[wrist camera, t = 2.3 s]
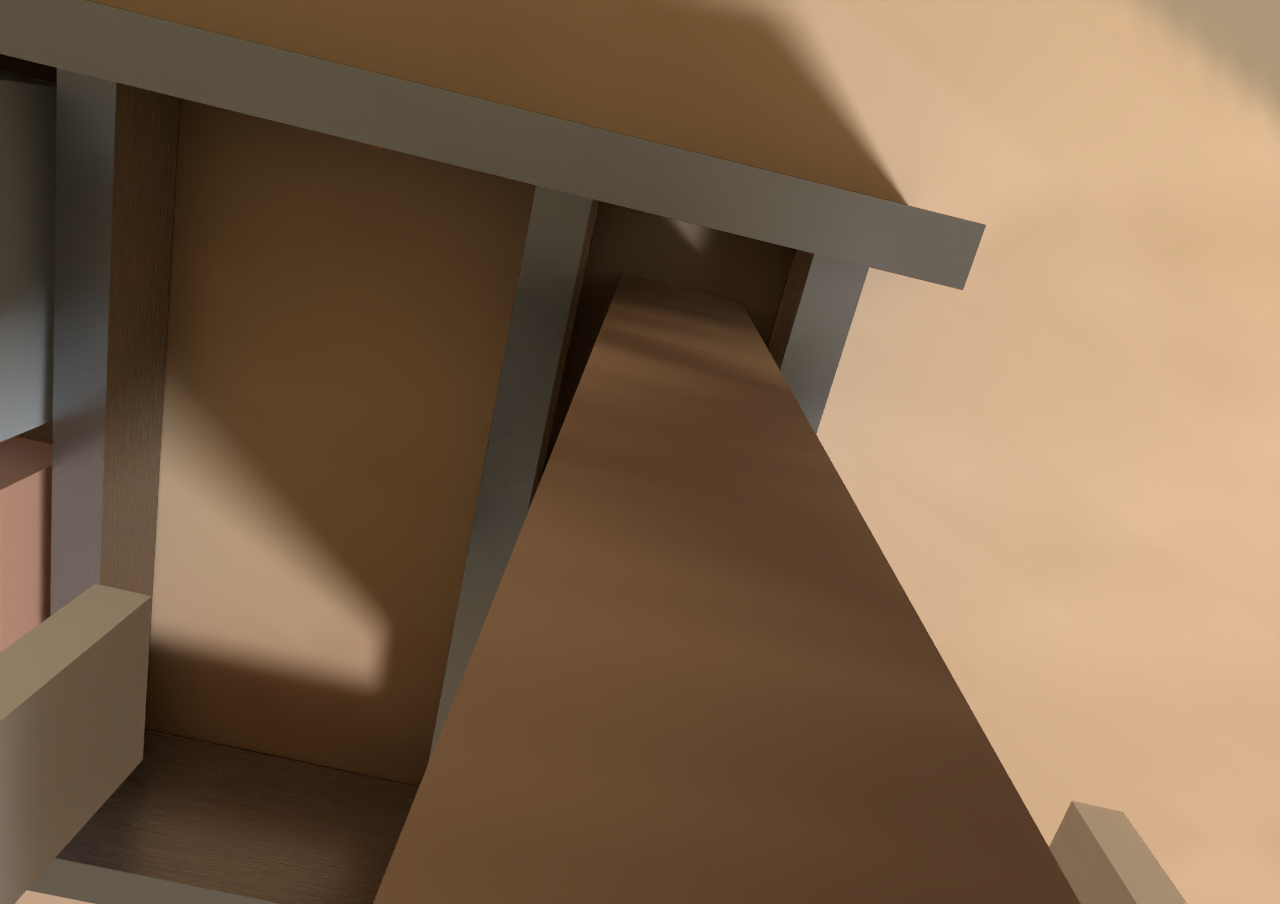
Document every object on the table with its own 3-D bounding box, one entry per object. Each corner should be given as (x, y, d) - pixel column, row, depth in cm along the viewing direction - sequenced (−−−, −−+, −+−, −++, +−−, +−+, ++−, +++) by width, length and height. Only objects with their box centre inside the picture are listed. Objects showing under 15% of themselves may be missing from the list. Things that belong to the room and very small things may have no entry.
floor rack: (-110, 708, 21) (-281, 828, 17) (-156, -56, 16) (-419, -126, 12) (695, 876, 22) (701, 1025, 18) (912, 211, 17) (986, 224, 13)
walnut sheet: (513, 755, 21) (120, 2288, 6) (622, 274, 17) (304, 1076, 2) (612, 776, 21) (480, 2331, 6) (741, 303, 17) (1285, 1267, 2)
